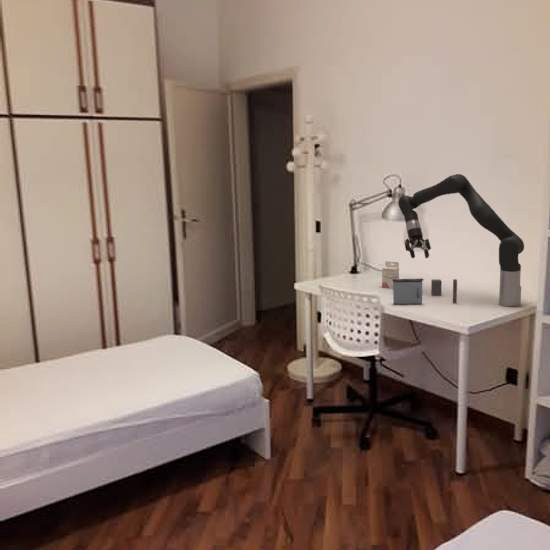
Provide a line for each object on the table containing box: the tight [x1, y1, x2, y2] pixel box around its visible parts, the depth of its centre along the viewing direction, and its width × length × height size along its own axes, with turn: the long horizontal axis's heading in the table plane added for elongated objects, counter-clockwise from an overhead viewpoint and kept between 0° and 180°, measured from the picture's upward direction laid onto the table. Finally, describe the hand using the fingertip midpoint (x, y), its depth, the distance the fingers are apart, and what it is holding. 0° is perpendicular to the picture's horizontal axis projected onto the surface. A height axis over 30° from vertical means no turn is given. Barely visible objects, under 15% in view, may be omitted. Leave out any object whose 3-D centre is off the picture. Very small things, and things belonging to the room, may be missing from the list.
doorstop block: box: [430, 278, 443, 297], centre depth 306 cm, size 5×5×8 cm
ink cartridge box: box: [381, 261, 400, 289], centre depth 327 cm, size 9×5×15 cm, turn 56°
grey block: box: [394, 281, 423, 305], centre depth 289 cm, size 14×2×11 cm, turn 82°
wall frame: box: [392, 278, 458, 303], centre depth 289 cm, size 32×4×13 cm, turn 82°
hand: (420, 257), depth 306 cm, fingers open, 8 cm apart
